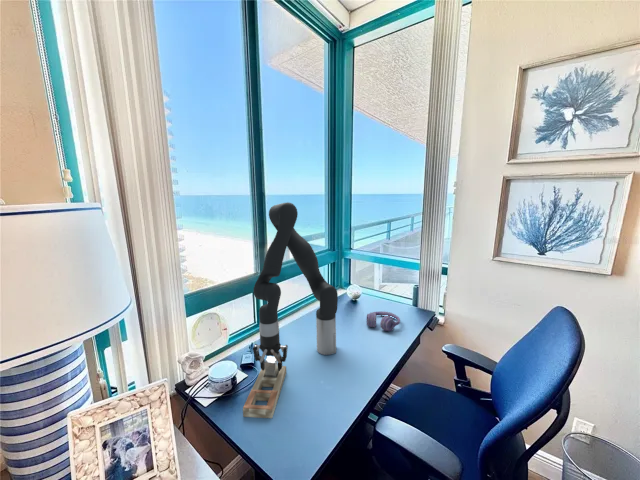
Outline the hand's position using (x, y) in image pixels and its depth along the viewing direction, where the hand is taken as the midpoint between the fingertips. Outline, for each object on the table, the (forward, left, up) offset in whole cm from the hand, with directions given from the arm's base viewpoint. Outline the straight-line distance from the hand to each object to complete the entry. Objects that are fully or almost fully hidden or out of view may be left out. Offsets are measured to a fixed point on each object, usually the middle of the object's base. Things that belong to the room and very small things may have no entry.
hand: (271, 369), depth 105 cm
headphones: (-52, -49, -5) cm, 72 cm away
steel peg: (0, 0, -5) cm, 5 cm away
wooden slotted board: (0, +7, -5) cm, 8 cm away
